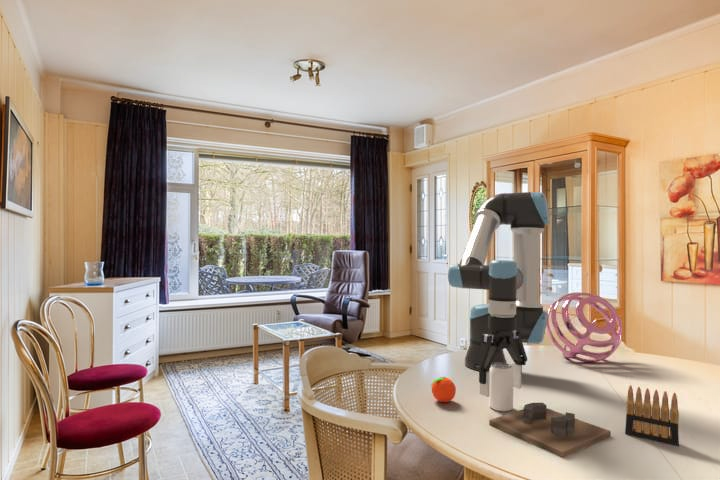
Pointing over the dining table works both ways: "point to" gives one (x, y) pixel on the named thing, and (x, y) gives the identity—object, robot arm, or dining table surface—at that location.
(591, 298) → the pink slotted hollow sphere
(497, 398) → the can
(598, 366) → the dining table surface
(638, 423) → the ammunition clip
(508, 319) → the robot arm
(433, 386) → the clementine
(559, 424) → the wooden board with blocks
